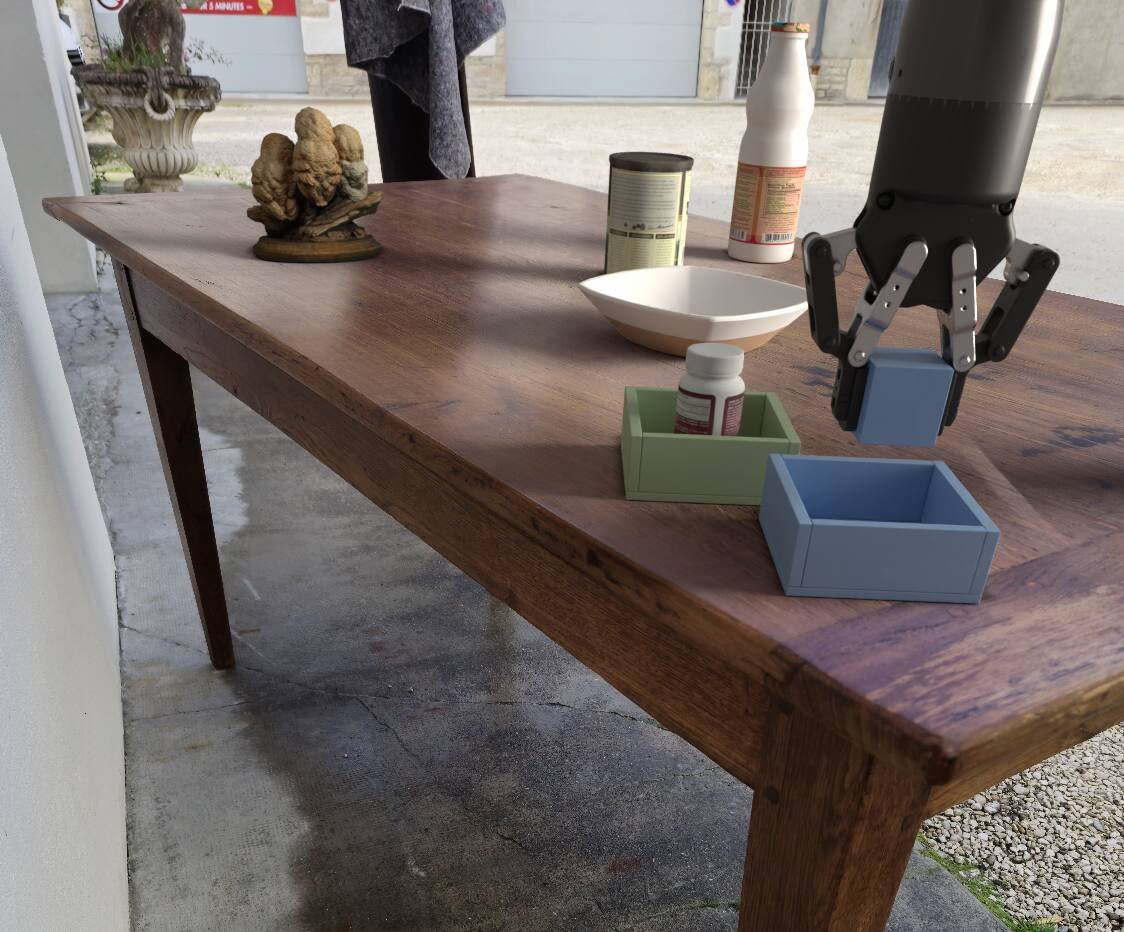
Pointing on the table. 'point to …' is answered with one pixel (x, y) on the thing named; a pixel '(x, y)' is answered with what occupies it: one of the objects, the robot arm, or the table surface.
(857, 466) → the blue bin
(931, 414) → the blue block
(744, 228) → the fruit juice
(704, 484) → the green bin
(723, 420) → the pill bottle
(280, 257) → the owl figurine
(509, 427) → the table surface
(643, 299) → the bowl
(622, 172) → the coffee can
